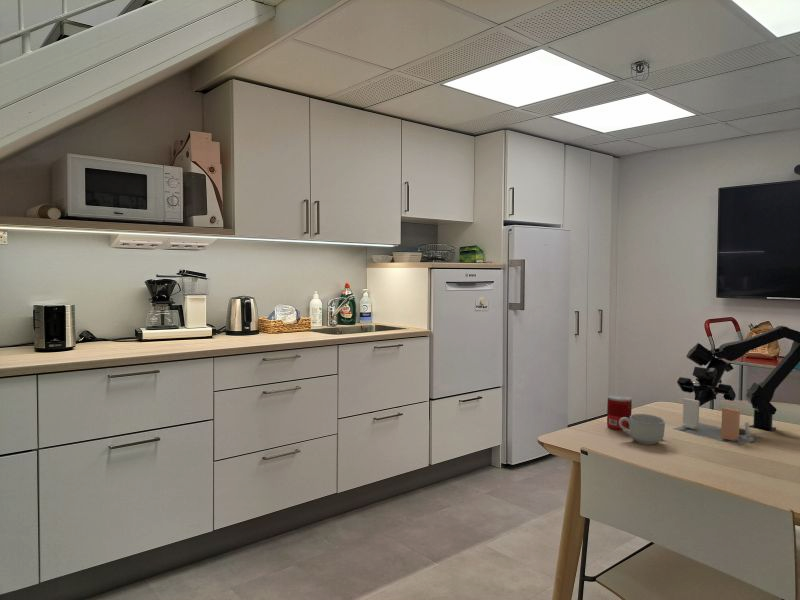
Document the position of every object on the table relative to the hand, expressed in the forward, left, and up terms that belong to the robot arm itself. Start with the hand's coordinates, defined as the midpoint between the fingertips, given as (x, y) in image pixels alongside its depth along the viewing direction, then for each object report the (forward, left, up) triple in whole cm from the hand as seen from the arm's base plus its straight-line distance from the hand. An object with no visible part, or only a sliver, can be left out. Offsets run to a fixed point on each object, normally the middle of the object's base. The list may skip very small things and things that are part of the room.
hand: (695, 406), depth 200 cm
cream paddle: (+3, 0, -7) cm, 8 cm away
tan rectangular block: (+6, +15, -7) cm, 17 cm away
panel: (+1, +8, -8) cm, 12 cm away
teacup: (+29, -2, -8) cm, 31 cm away
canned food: (+21, -16, -8) cm, 28 cm away
